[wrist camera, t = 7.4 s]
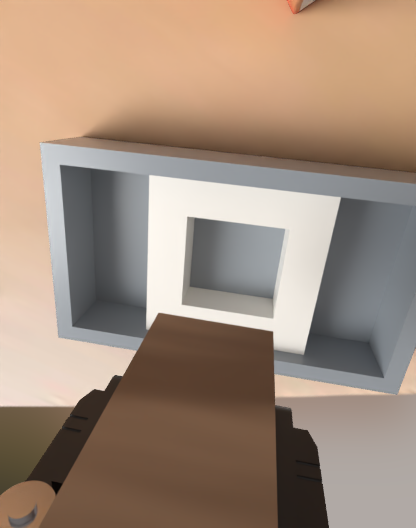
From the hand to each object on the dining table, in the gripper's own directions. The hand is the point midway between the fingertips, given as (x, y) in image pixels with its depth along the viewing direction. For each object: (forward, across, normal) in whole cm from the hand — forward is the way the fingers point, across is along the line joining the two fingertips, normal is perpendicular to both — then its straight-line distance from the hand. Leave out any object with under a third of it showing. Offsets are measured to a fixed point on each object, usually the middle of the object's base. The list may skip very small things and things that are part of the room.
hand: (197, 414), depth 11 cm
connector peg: (+2, 0, 0) cm, 2 cm away
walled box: (+14, 0, 0) cm, 14 cm away
